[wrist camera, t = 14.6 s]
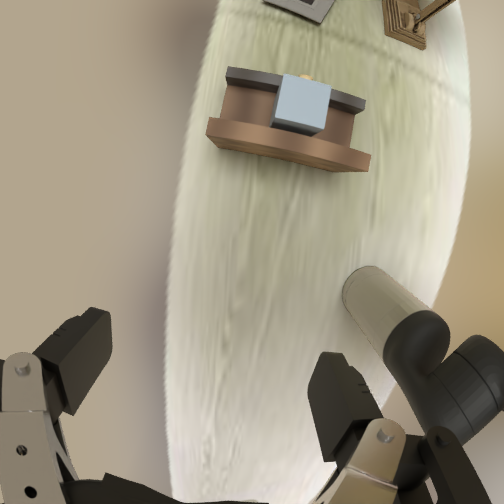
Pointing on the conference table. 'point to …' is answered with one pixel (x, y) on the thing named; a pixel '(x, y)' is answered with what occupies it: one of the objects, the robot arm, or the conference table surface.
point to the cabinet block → (300, 105)
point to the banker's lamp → (409, 20)
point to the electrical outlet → (306, 7)
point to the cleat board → (279, 141)
